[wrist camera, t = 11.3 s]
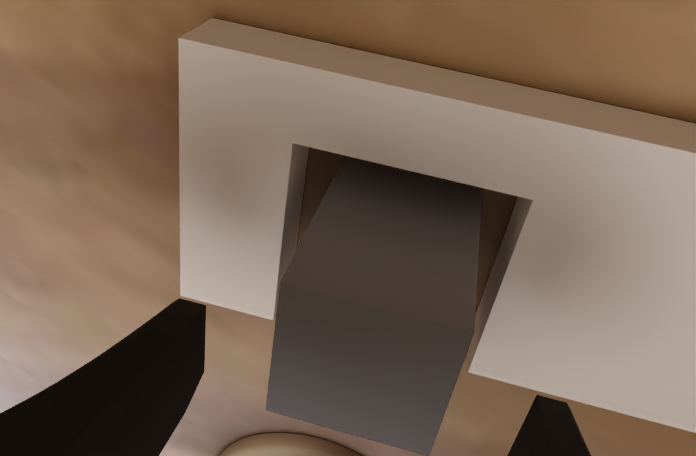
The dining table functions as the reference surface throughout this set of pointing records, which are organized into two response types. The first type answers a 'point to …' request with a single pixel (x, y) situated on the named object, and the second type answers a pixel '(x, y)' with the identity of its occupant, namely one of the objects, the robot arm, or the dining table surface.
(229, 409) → the dining table surface
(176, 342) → the robot arm
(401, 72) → the notched board
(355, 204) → the block
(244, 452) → the bobbin
